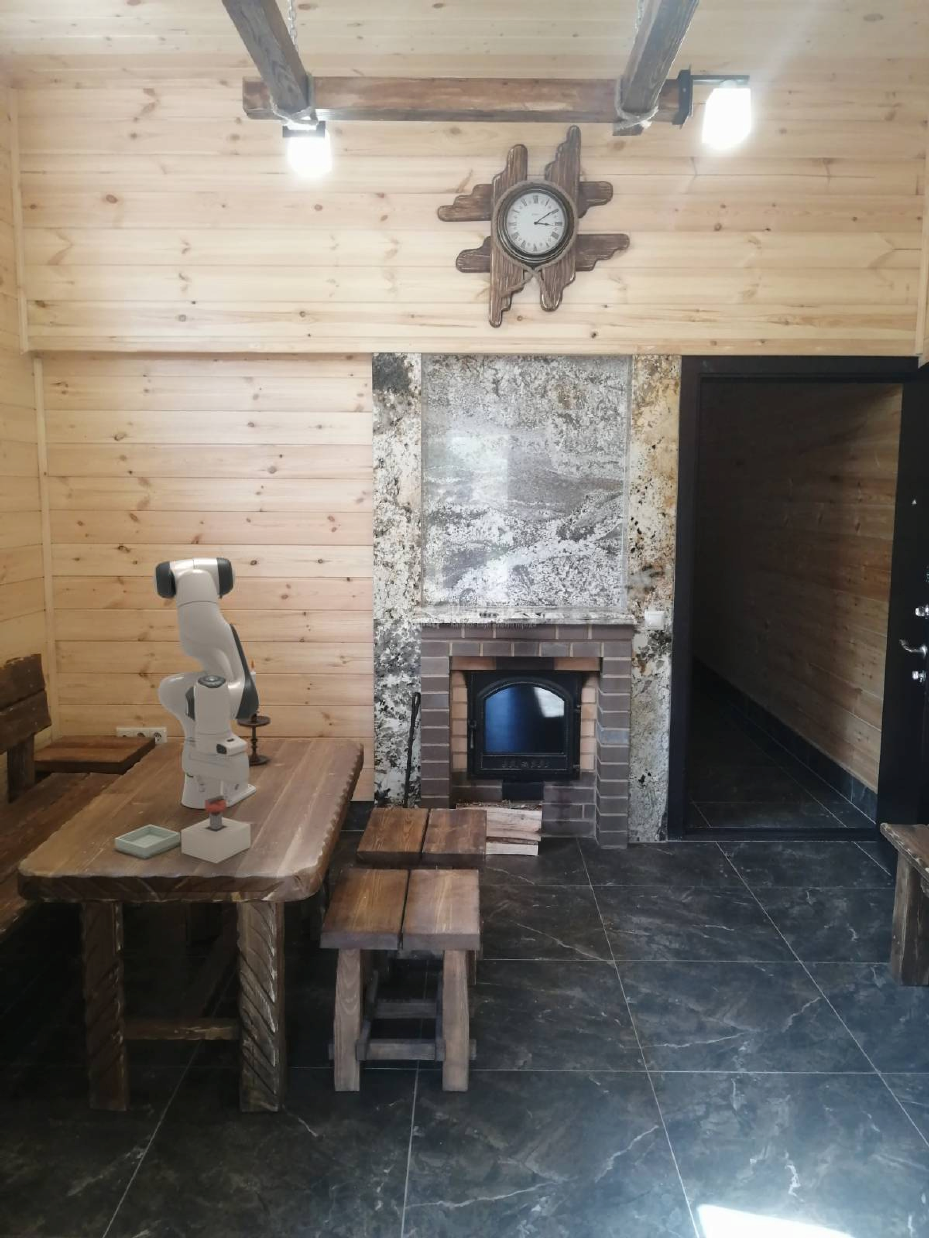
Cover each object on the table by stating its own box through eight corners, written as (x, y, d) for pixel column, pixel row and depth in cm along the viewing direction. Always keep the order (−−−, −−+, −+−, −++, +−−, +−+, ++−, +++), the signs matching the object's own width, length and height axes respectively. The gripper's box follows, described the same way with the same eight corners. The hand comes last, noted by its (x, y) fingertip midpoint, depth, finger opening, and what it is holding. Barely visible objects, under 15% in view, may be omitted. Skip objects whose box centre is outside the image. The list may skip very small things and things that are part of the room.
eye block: (216, 836, 235) (216, 815, 234) (250, 846, 229) (250, 824, 228) (181, 852, 225) (181, 830, 224) (216, 863, 219) (215, 840, 218)
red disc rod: (216, 844, 231) (215, 793, 228) (231, 848, 228) (230, 797, 226) (201, 851, 226) (200, 799, 224) (216, 855, 224) (215, 803, 222)
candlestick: (260, 768, 292) (259, 663, 286) (231, 764, 295) (229, 661, 289) (276, 758, 302) (275, 657, 297) (248, 755, 305) (246, 655, 300)
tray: (150, 834, 236) (150, 824, 235) (180, 844, 230) (180, 833, 230) (115, 849, 226) (114, 838, 226) (145, 859, 221) (145, 847, 220)
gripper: (174, 738, 225) (176, 790, 227) (234, 750, 215) (235, 805, 217) (193, 732, 230) (195, 784, 232) (252, 744, 220) (253, 797, 222)
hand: (215, 794), depth 224 cm, fingers open, 8 cm apart
